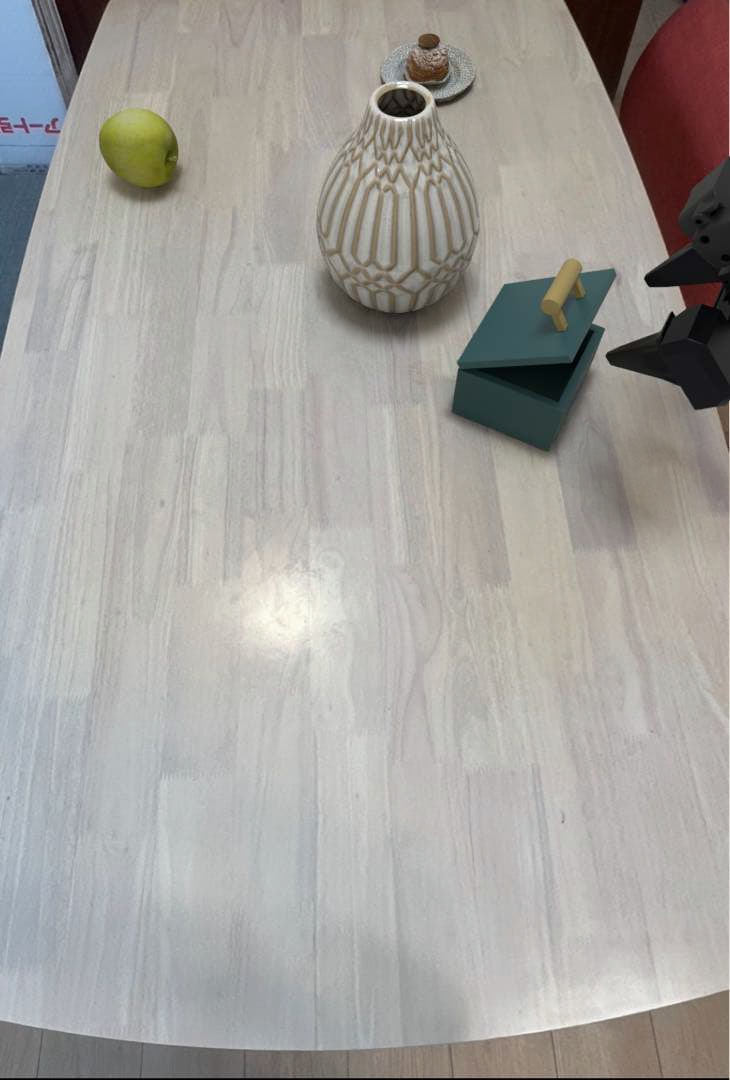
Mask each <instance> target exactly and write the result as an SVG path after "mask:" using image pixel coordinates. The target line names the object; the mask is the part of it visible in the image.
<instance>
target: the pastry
mask: <svg viewBox="0 0 730 1080" xmlns="http://www.w3.org/2000/svg"><path fill="white" fill-rule="evenodd" d="M476 71H477V70H476V65H475V62H474V60H473V58H472V57H471V56H470V55H469V54H468V53H467V52H466V51H464V49H461V48H458V47H456V46H455V45H453V44H450V43H446V42H443V41H441V39H440V37H439V36H438V35H437V34H435V33H432V32H431V33H429V32H428V33H423V34H421V35H420V36H418V39H417V41H415V42H411V43H410V42H409V43H406V44H403V45H400V46H398V47H396V48H395V49H393V50H392V51H390V53H388V54H387V55H386V57H384V59H383V61H382V64H381V66H380V76H381V79H382V81H383V83H384V84H386V83H390V82H394V81H409V82H414V83H417V84H420V85H422V86H423V87H425V88H426V89H428V90H429V91H430V92H431V94H432V96H433V98H434V101H435V104H443V103H446V102H447V103H448V102H451V101H452V100H454V99H455V98H456V97H458V96H460V95H461V94H462V93H463V92H465V91H466V89H467V88H469V86H470V85H471V84H472V82H473V81H474V79H475V75H476Z"/></svg>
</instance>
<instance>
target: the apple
mask: <svg viewBox="0 0 730 1080" xmlns="http://www.w3.org/2000/svg"><path fill="white" fill-rule="evenodd" d="M98 147H99V151H100V153H101V155H102V159H103V161H104V162H105V164H106V165H107V166H108V168H109V169H110V170H111V172H113V173H114V174H115V175H116V176H118V177H119V178H121V179H122V180H124V181H126V182H127V183H129V184H132V185H134V186H137V187H140V188H156V187H160V186H163V185H165V184H166V183H168V182H169V181H170V180H171V179H172V177H173V175H174V173H175V170H176V167H177V164H178V161H179V156H180V155H179V154H180V153H179V151H180V150H179V142H178V138H177V136H176V134H175V132H174V130H173V128H172V127H171V125H170V124H169V123H168V121H166V120H165V118H163V117H162V116H161V115H159V114H157V113H156V112H154V111H152V110H149V109H146V108H142V107H141V108H140V107H137V108H136V107H135V108H128V109H125V110H122V111H119V112H117V113H116V114H114V115H112V116H109V118H108V119H106V121H105V122H104V123H103V124H102V126H101V128H100V129H99V134H98Z"/></svg>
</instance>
